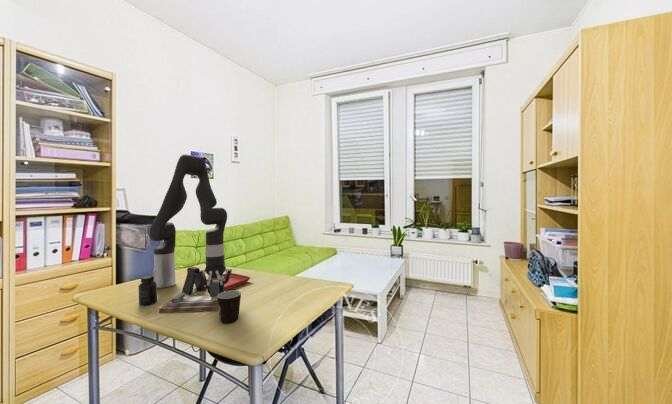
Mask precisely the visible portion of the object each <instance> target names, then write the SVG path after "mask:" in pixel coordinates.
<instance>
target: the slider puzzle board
mask: <svg viewBox="0 0 672 404" xmlns="http://www.w3.org/2000/svg"><path fill="white" fill-rule="evenodd" d="M203 311H204V312H207V311H219V306H218V300H217V301H211V297H210V295H200V296H198V295H197V296H194V295H193V296H186V294H185V293H182V292H180V293H179V292H178V293H177V294H176V295H175V296H173V298H171V299H169V301H168V302H166V303H165V304H163V305H162V306H160V307H159V309H158V313H179V312H183V313H184V312H203Z"/></svg>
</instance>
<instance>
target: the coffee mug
mask: <svg viewBox="0 0 672 404" xmlns="http://www.w3.org/2000/svg"><path fill="white" fill-rule="evenodd" d="M241 295H242V292H241V291H239V290H226V291H224V292H222V293H220V294H218V295H217V300H218V306H219V310H218V312H219V318H220V323H221V324H223V325H231V324H234V323H236V322H238V321H239V319H240V310H241V308H240V307H241V297H242V296H241Z"/></svg>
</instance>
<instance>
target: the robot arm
mask: <svg viewBox="0 0 672 404" xmlns="http://www.w3.org/2000/svg"><path fill="white" fill-rule="evenodd" d="M208 173H209V172H208V168H207V164H206V161H205V160H204V158H202V157H200V156H197V155H191V154H181V155H180V156H179V158H178V160H177V163H176V166H175V170H174V173H173V175H172V176H173V177H172V179H171V182H170V184H169V187H168V189H167V191H166V194H165V196H164V198H163V201H162V204H161V206H160V208H159V211H158V213H157V214H156V216H155V218H154V220H153V222H152V223H151V225H150V227H149V231H148V235H149V238H150V240H151V241H154V242H160V241H162V243H161V244H160V245H158V246H156V247H155V248H154V250H153V258H154V259H153V260H154V261H153V262H154V268H153V269H152V276H154V280H153V281H155V282H156V283H157V289H163V288H164V289H165V288H168V287H173V286H175V285H176V260H175V259H176V257H175V248H176V239H177V237H176V235H177V233H176V226H175V224H174V223H173V222H171V221H170V220H171V219H172V218H174V217H175V216H176V215H177V214H179V213H180V212H181V211H182V210H183V209H184V208H183V207H184V206H185V203H186V202H187V199H188V194H187V193H188V192H187V191H186V187H185V185H184V178H185V176H186V175H188V176H197V178H198V181H199V182H198V184H197V185H196V188H195V196H196V199H197V201H198V204H199V207H200V208H199V211H200V214H199V215H200V221H201V222H202V223H203V224H204V225H206V226H212V225H215V227H214V228H212V229H210V230H207V231H206V232H205V268H204V269H202V270H200V271H199V276H200V278H201V281H202V284H203V285H204V284H205V285H207V288H206V290H207V294H208V295H210V285H209V283H210V282H211V281H212V280H213V278H218V280H219V282H220V293H222V292H225V291H224V290H225V288H224V284H227V283H228V282H229V279H230V276H231V273H233V272H232V271H233V269H232V268H230V269H228V268H226V266H225V265H226V261H225V260H226V259H225V244H224V243H225V242H224V233H225V227H226V224H227V220H228V212H227V211H226V209H225V208H223V207H216V206H217V204H218V202H217V198H216V196H215V194H214V192H213V189H212V187H211V183H210V182H211V181H210V178H209V174H208ZM206 274H207V275H208V277H207V276H206ZM223 274H227V276H226V279H225V281H224V277H223ZM207 279H208V281H207Z"/></svg>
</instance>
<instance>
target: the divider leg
mask: <svg viewBox="0 0 672 404" xmlns="http://www.w3.org/2000/svg"><path fill="white" fill-rule="evenodd" d="M209 285H210V294H209V296H210V297H211V301H217V295H218V294H220V282H219V280H212V281H211V282H210V283H209Z"/></svg>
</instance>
